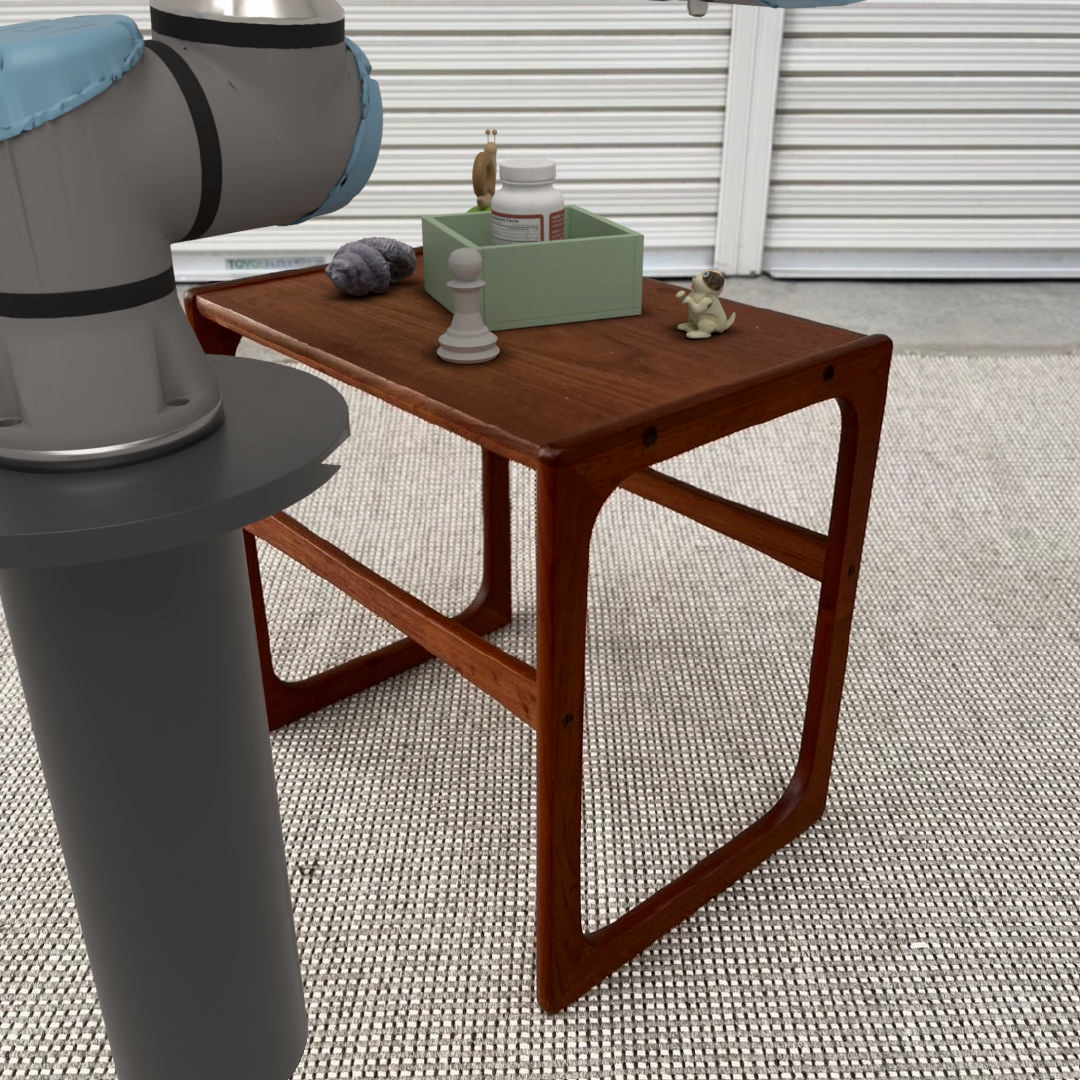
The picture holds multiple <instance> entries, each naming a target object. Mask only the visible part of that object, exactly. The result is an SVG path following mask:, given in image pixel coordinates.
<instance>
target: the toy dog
mask: <svg viewBox="0 0 1080 1080" xmlns="http://www.w3.org/2000/svg"><path fill="white" fill-rule="evenodd" d="M690 288H691V289H692V290H691V292H689V293H688V295H687V293H686V292H685V291H684V290H679V291H677V293H676V294H675V297H676V298H679V299H680V303H681V304H682V306H683V307H684V306H686V305H687V309H688V322H683V323H679V324H678V325H677V330H680V331H685V332H686V334H685V337H686V338H688V339H705V338H706V339H707V338H711V336H712V333H719V334H722V333H724V331H726V330H728V329H729V328H730V327H732V325H733V324H734V322H735V319H736V311H735V312H734V311H733V312H732V314H731V315H730V317H729V318H728V319H727V315H726V313H725V309H724V307H723V305H722V302H721V301H720V299H719V296H720V295H721V294H722V292H723V290H724V288H725V278H724V276H723V274H722V273H721V272H720V271H719V270H715V269H704V270H703V271H701V272H700V273H699V274H697V275H694V276H693V277H692V279H691V285H690Z"/></svg>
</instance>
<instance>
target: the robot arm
mask: <svg viewBox="0 0 1080 1080" xmlns="http://www.w3.org/2000/svg"><path fill="white" fill-rule="evenodd" d="M649 1H650V2H651V1H653V2H656V1H657V2H668V1H671V0H649ZM678 1H680V2H681V1H683V2H686V10H687V13H688V15H689V16H691V17H693V18H702V17H704V16H706V15H707V13H708V9H709V3H712V4H713V3H714V4H725V5H736V6H737V5H739V6H748V7H749V6H750V7H762V8H772V9H775V10H776V9H815V8H823V7H825V8H827V7H843V6H844V7H845V6H848V5H851V4H853V5H854V4H857V3H862V2H866V1H867V0H678ZM148 3H149V16H150V31H151V39H150V38H149V39H145V38H144V35H143V33H142V32H141V31H140V29H139V27H138V24H137V22H136V21H135V20H134V19H133V18H132V17H130V16H128V15H125V14H117V13H105V14H104V13H102V14H87V15H73V16H68V17H66V16H65V17H60V18H55V19H39V20H33V21H25V22H18V23H12V24H7V25H1V26H0V468H2V469H7V470H12V471H19V472H29V473H53V474H54V473H79V472H91V471H100V470H107V469H114V468H120V467H126V466H131V465H135V464H140V463H144V462H148V461H152V460H156V459H159V458H162V457H165V456H169V455H172V454H174V453H177V452H180V451H182V450H185V449H187V448H189V447H191V446H193V445H195V444H197V443H199V442H201V441H203V440H204V439H206V438H207V437H209V436H210V435H212V434H213V433H214V432H215V431H216V430H217V429H218V428H219V427H220V426H221V424H222V423H223V420H224V406H223V399H222V393H221V390H220V387H219V383H218V380H217V378H216V375H215V373H214V371H213V369H212V367H211V365H210V363H209V361H208V359H207V357H206V355H205V354H206V353H205V350H204V349H203V347H202V345H201V343H200V341H199V339H198V337H197V335H196V333H195V331H194V328H193V327H192V325H191V323H190V321H189V318H188V316H187V315H186V312H185V310H184V308H183V306H182V305H181V302H180V299H179V295H178V289H177V284H176V283H177V282H176V277H175V271H174V269H175V268H174V265H173V264H174V262H173V254H172V248H171V247H172V245H174V244H180V243H184V242H185V243H186V242H191V241H196V240H202V239H208V238H214V237H219V236H224V235H229V234H234V233H240V232H245V231H252V230H257V229H263V228H269V227H291V226H297V225H300V224H303V223H305V222H307V221H309V220H311V219H313V218H316V217H317V218H318V217H321V216H326V215H329V214H332V213H333V214H334V213H335V212H337V211H340V210H341V209H343V208H344V207H346V206H348V205H349V204H350V203H351V202H352V200H353V199H354V198H356V196H358V195H359V194H360V193H361V192H362V191H363V189H364V188H365V187H366V185H367V184H368V182H369V180H370V178H371V177H372V174H373V173H374V170H375V167H376V165H377V162H378V158H379V155H380V151H381V146H382V140H383V134H384V133H383V130H384V107H383V98H382V93H381V89H380V85H379V82H378V81H377V80H376V79H374V78H371V76H370V75H371V73H372V71H373V65H372V64H371V62H370V60H369V58H368V56H367V55H366V54H365V52H364V50H363V49H362V48H361V47H360V46H359V45H358V44H357V43H356V42H355V41H353V40H352V39H350V38H349V37H347V36H346V23H345V22H346V15H345V13H346V12H345V9H344V8H343V6H342V5H341V4H340V3H339V2H338V1H337V0H148Z"/></svg>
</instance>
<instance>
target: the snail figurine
mask: <svg viewBox="0 0 1080 1080" xmlns="http://www.w3.org/2000/svg"><path fill="white" fill-rule="evenodd" d="M484 133H485V135H487V142H486V144H485V145H484V148H483V151H479V153H477V154H476V156H475V158H474V161H473V166H472V171H471V181H472V189H473V190H472V191H473V193H474V195H475V197H476V205H475V206H473V207H471V208H469V209H468V210H467V211H466V212H465V213H470V212H483V211H491V201H492V197H493V195H494V194H495V193H496V184H497V173H498V172H497V171H498V170H497V168H498V166H497V153H498V147H497V144H496V135H497V134H498V130H497V129H494V128H493V129H492V130H491V129H489V128H486V129H485V132H484ZM490 135H493V137H494V138H493V139H494V140H493V141H489V140H490V139H489V136H490Z"/></svg>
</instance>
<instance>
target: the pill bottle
mask: <svg viewBox="0 0 1080 1080" xmlns="http://www.w3.org/2000/svg"><path fill="white" fill-rule="evenodd" d="M498 165H499V166H498V168H499V169H498V174H499V182H500V183H502V186H501V188H500V189H498V190H497V191H495V194H494V195H493V197H492V201H491V219H492V246H494V245H506V244H518V243H530V242H541V241H553V240H565V236H564V205H565V198H564V196H563V194H562V192H561V191H559V190H558V189H556V188H555V187H554V186H553V183H554V182H555V181H556V177H557V165H556V161H555V160H552V159H546V158H528V157H527V158H512V159H505V160H503V161H500V162H499V164H498Z"/></svg>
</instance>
